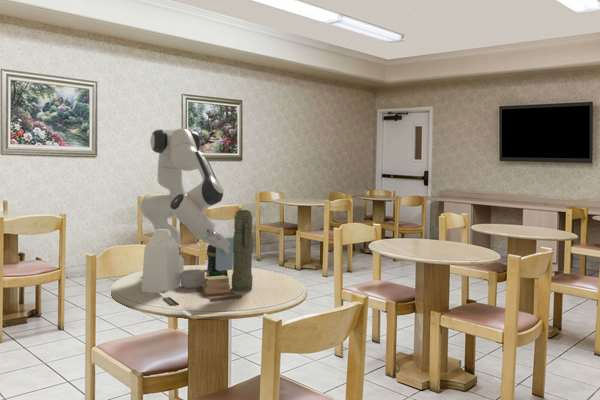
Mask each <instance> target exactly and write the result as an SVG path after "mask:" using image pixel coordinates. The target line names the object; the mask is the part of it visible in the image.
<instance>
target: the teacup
mask: <svg viewBox="0 0 600 400" xmlns="http://www.w3.org/2000/svg"><path fill="white" fill-rule="evenodd" d="M204 277H209V271H208V270H207V269H200V268H199V269H185V270H184V271H181V272H180V286H181V287H182V288H183V289H188V290H189V289H193V290H194V289H198V288H203V284H204Z"/></svg>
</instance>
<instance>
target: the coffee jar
mask: <svg viewBox="0 0 600 400" xmlns="http://www.w3.org/2000/svg"><path fill="white" fill-rule="evenodd" d="M206 249H207V250H206V254H207V255H206V256H207V269H206V270H208V271H209V277H213V276H226V277H228V278H229V276H228V270H222V271H218V270H216V247H215V246H212V245H210V244H208V245H207V248H206Z"/></svg>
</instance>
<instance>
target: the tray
mask: <svg viewBox="0 0 600 400" xmlns="http://www.w3.org/2000/svg"><path fill="white" fill-rule="evenodd" d="M195 292H196V293H197V294H199V295H201V296H202V297H204V298H206V299H207V300H209V301H210V302H217V301H227V300H235V299H243V295H242V294H237V293H234V292H232V291H231V290H230V292H223V293H214V294H206V293H204V292H203V287H201V288H196V289H195Z"/></svg>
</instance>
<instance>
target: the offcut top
mask: <svg viewBox="0 0 600 400" xmlns="http://www.w3.org/2000/svg"><path fill="white" fill-rule="evenodd" d="M204 285H206V286H208V287H212V286H222V285H230V277H229V276H228V277H226V276H213V277H206V276H205V277H204Z"/></svg>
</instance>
